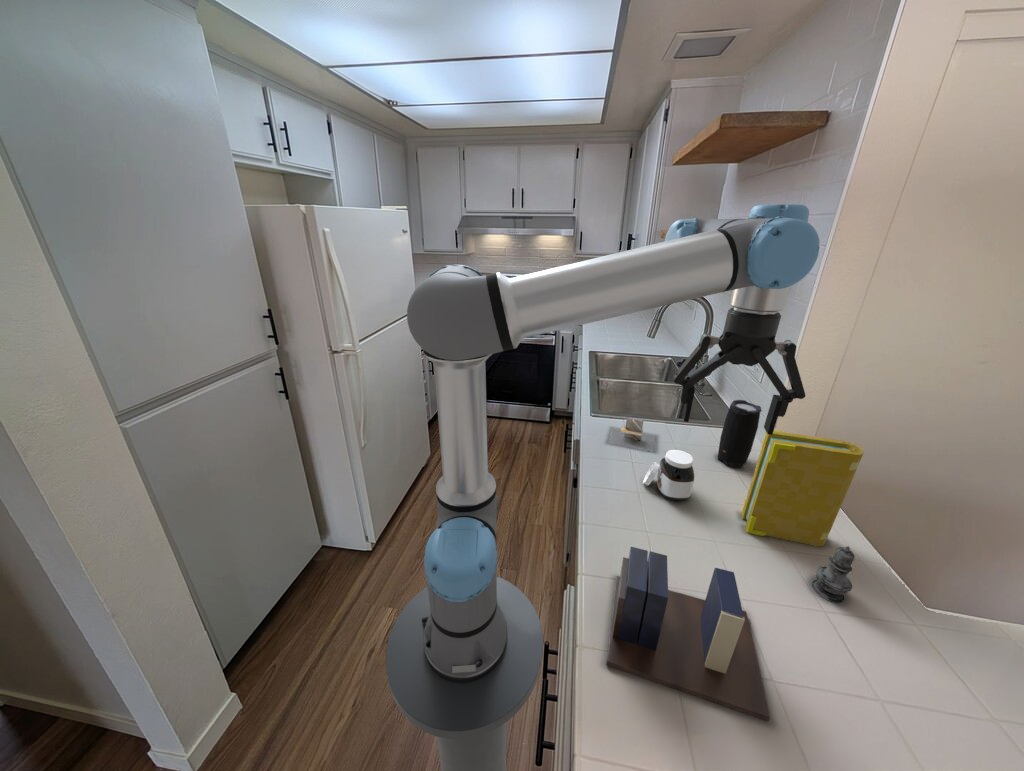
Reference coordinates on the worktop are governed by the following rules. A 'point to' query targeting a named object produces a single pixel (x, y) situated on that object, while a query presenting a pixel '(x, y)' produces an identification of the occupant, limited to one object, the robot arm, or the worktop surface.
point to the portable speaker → (738, 433)
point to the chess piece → (835, 576)
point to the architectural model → (633, 436)
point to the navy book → (721, 620)
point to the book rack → (676, 639)
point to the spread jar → (673, 475)
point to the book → (799, 486)
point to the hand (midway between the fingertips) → (725, 424)
